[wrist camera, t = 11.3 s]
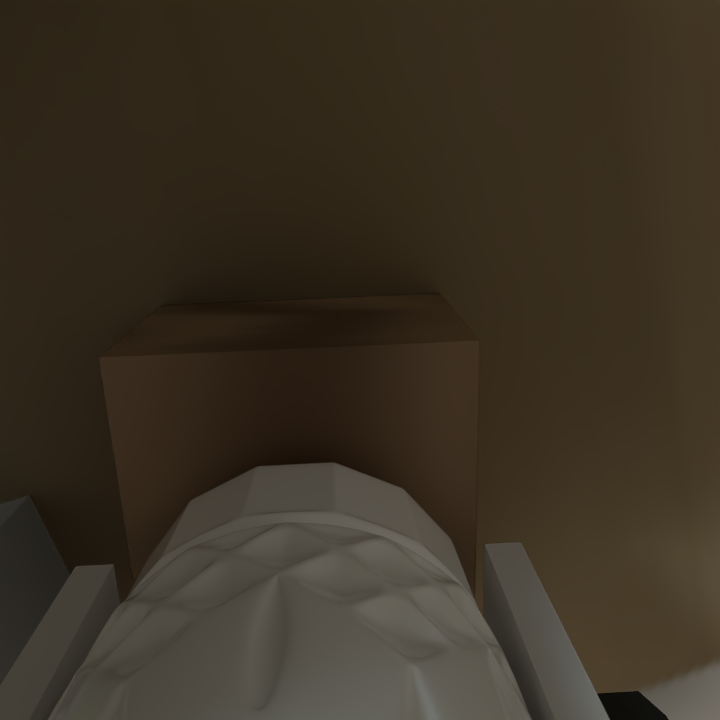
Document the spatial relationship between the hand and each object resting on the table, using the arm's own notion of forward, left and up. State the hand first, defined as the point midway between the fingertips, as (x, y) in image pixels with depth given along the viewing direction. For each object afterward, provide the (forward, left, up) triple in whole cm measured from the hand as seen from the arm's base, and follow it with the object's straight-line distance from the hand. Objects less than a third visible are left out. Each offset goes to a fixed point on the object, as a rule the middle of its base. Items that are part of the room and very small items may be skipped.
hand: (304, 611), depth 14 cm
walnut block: (0, 0, -6) cm, 6 cm away
